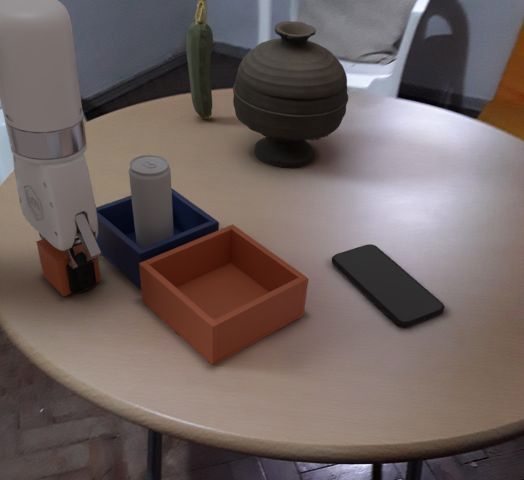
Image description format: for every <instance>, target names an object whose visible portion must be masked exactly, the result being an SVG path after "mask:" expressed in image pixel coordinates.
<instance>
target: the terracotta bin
mask: <svg viewBox="0 0 524 480" xmlns="http://www.w3.org/2000/svg"><path fill="white" fill-rule="evenodd" d="M139 268H140V279H141V289H142V291H141V297H142V299H141V300H142V303H144V304H145V305H146V306H147V307H148V308H149V309H150V310H152V312H154V313H155V314H156V315H157V316H158V317H159V318H160V319H161V320H162V321H163V322H164V323H166V324H167V325H168V326H169V327H170V328H171V329H172V330H173V331H174V332H175V333H176V334H177V335H178V336H180V337H181V338H182V339H183V340H184V341H185V343H187V344H188V345H190V346H191V347H192V348H193V349H194V350H195V351H196V352H197V353H198V354H200V355H201V357H203V358H204V359H205V360H206V361H207V362H208V363H209V364H210V365H211V366H214V365H217V364H218V363H220V362H222V361H224V360H225V359H227V358H229V357H231V356H233V355H234V354H237V353H238V352H240V351H242V350H244V349H245V348H248V347H249V346H251V345H254V344H255V343H256V342H258V341H260V340H263V339H264V338H266V337H268V336H270V335H271V334H273V333H275V332H277V331H278V330H281V329H282V328H283V327H285V326H288V325H289V324H291V323H293V322H295V321H296V320H298V319H300V318H302V317H304V316H305V315H304V314H305V308H306V300H307V293H308V285H309V277H308V276H307V275H305V274H303V273H302V272H300V271H299V270H298V269H297V268H295V267H293V266H292V265H291V264H289V263H288V262H286V261H285V260H284V259H282V258H281V257H280V256H279V255H276V254H275V253H274V252H273V251H271V250H269V249H268V248H267V247H266V246H264V245H262V244H261V243H260V242H258V241H257V240H255V238H253V237H251V236H250V235H249V234H247V233H246V232H244V231H243V230H241V229H240V228H238V227H237V226H236V225H234V224H230V225H227V226H226V227H223V228H220V229H219V230H218V231H216V232H213V233H211V234H208V235H206V236H204V237H201V238H199V239H196V240H194V241H192V242H189V243H187V244H184V245H182V246H180V247H177V248H175V249H172V250H170V251H167V252H165V253H163V254H160V255H158V256H155V257H153V258H151V259H148V260H146V261H143V262H141V263H139Z"/></svg>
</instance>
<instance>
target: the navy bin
mask: <svg viewBox="0 0 524 480" xmlns="http://www.w3.org/2000/svg"><path fill="white" fill-rule="evenodd" d="M171 190H172V210H173V231H174V236H172V237H170V238H167V239H165V240H162V241H160V242H157V243H155V244H152V245H150V246H147V247H145V248H142V249H141V248H140V247H139V246H138V245H137V242H136V233H135V225H134V216H133V207H132V197H131V195H128V196H125V197H122V198H120V199H116V200H114V201H111V202H108V203H105V204H102V205H99V206H96V212H97V220H98V236H97V238H96V239H95V240H96V242H97V244H98V247H99V249H100V251H101V256H102V257H103V258H104V259H106V260H107V261H108V262H109V263H110V264H111V265H112V266H113V267H114V268H116V269H117V270H118V271H119V273H121V274H122V275H123V276H125V277H126V278H127V279H128V280H129V281H130V282H131V283H132V284H133V285H134V286H135V287H137V288H138V289H139V290H140V291H141V292H142V289H141V279H140V268H139V263H141V262H143V261H146V260H148V259H151V258H153V257H155V256H158V255H160V254H163V253H165V252H167V251H170V250H172V249H175V248H177V247H180V246H182V245H184V244H187V243H189V242H192V241H194V240H196V239H199V238H201V237H204V236H206V235H208V234H211V233H213V232H216V231H218V230H220V222H219V221H218V220H217V219H216V218H215V217H213V216H212V215H210V214H209V213H207V212H205V210H203V209H202V208H201V207H199V206H197V205H196V204H195V203H194V202H192V201H191V200H189V199H188V198H186V197H185V196H184V195H182V194H181V193H179V191H177V190H175V189H174V188H172V187H171Z"/></svg>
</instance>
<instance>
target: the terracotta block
mask: <svg viewBox="0 0 524 480" xmlns="http://www.w3.org/2000/svg"><path fill="white" fill-rule="evenodd" d="M77 236H78V235H77V234H76V236H75V237H77ZM36 246H37V247H36V248H37V252H38V256H39V261H40V265H41V271H42V275H43V277H44V278H45V279H46V280H47V281H48V282H49V283H50V285H52V287H54V288H55V290H57V292H58V293H59V294H60V295H61V296H62V297H66V296H69V295H71V294H73V293H72V292H71V291H70V286H69V280H68V275H67V269H66V265H69V262H68V259H67V255H66V252H65V251H61V250H59V249H57V248H55V247H54V246H53V245H52V244H50V243H49V242H48V241H47V240H46V239H39V240H37V241H36ZM73 250H74V254H75V256H76V255H77V254H78V253H80V252H82V251H83V246H82V244H80V245H77V246H75V247H73ZM94 268H95V275H96V282H97V284H98V283H100V282H102V280H101V279H102V278H101V274H100V273H101V272H100V265H99V257H98V258H96V259H95V261H94Z"/></svg>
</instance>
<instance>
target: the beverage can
mask: <svg viewBox="0 0 524 480" xmlns="http://www.w3.org/2000/svg"><path fill="white" fill-rule="evenodd" d="M171 173H172V172H171V167H170V163H169V160H168V159H167V158H165V157H164V156H161V155H158V154H157V155H156V154H143V155H138V156H135V157H134V158H132V159H131V160H130V161H129V167H128V176H129V186H130V196H131V197H132V207H133V216H134V225H135V233H136V242H137V245H138V246H139V247H140V248H141V249H142V248H145V247H147V246H150V245H152V244H155V243H157V242H160V241H162V240H165V239H167V238H170V237H172V236H174V231H173V210H172V190H171V188H172V174H171Z"/></svg>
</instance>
